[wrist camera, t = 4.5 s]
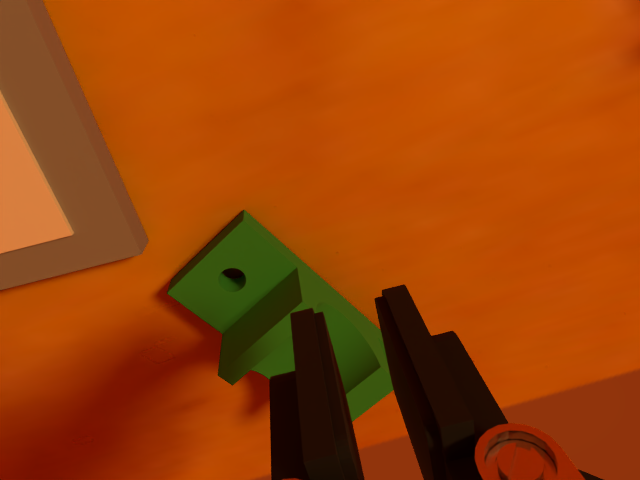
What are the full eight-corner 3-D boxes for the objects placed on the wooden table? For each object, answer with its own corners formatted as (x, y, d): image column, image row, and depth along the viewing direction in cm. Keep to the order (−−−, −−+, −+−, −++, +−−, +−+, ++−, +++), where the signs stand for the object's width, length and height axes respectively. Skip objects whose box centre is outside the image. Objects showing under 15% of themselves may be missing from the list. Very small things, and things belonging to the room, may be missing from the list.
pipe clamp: (438, 411, 20) (358, 471, 21) (412, 354, 23) (344, 408, 24) (239, 249, 16) (151, 334, 17) (243, 208, 19) (169, 281, 20)
